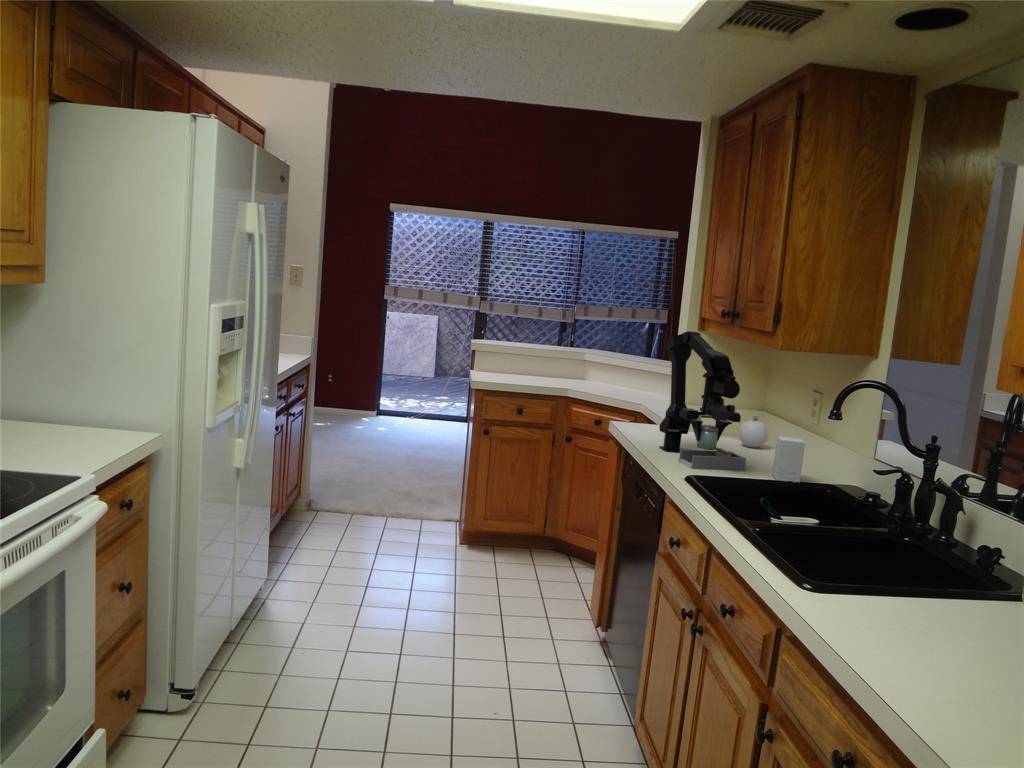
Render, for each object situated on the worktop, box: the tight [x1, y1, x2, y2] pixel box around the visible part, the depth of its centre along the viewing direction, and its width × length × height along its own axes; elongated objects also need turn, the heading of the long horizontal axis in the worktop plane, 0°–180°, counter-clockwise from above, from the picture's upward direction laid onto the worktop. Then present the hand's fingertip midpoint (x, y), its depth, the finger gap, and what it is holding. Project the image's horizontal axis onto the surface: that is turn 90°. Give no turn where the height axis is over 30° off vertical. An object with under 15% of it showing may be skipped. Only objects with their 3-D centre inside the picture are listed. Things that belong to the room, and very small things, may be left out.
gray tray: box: [678, 448, 747, 471], centre depth 245 cm, size 10×18×4 cm, turn 103°
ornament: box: [738, 415, 769, 448], centre depth 285 cm, size 10×10×12 cm
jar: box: [696, 424, 719, 451], centre depth 243 cm, size 6×6×7 cm
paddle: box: [715, 447, 732, 457], centre depth 245 cm, size 7×2×5 cm, turn 13°
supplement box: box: [771, 435, 806, 483], centre depth 235 cm, size 7×7×13 cm
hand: (707, 441), depth 244 cm, fingers closed on jar, 6 cm apart
